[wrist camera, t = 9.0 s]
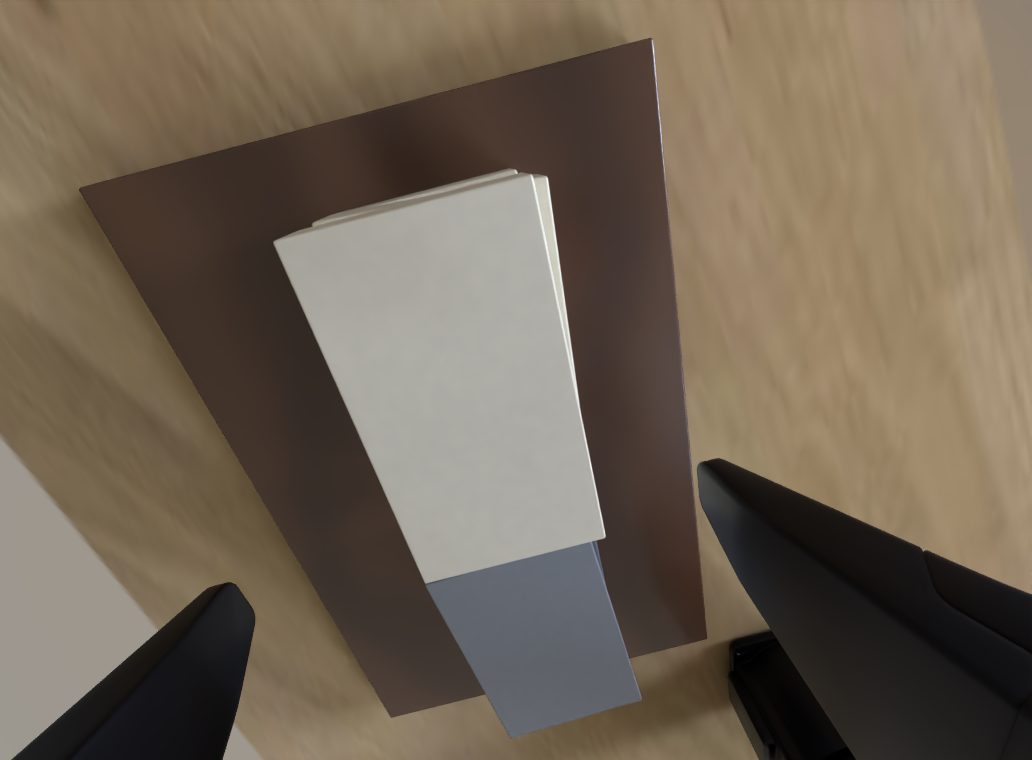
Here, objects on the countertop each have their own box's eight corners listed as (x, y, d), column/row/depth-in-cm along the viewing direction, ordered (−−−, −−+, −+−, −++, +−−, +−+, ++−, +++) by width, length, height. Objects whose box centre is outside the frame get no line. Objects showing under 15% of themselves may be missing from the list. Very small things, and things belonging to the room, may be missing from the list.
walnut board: (637, 47, 16) (653, 36, 14) (695, 615, 28) (707, 639, 26) (109, 185, 16) (76, 187, 15) (394, 691, 28) (390, 718, 26)
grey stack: (586, 472, 21) (608, 530, 18) (620, 636, 25) (643, 706, 22) (427, 512, 21) (420, 577, 18) (491, 668, 26) (494, 743, 22)
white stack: (528, 161, 15) (545, 161, 12) (585, 443, 20) (608, 498, 17) (325, 213, 15) (288, 228, 12) (430, 483, 20) (423, 545, 17)
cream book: (523, 171, 12) (532, 173, 11) (592, 502, 17) (606, 538, 15) (296, 230, 12) (271, 241, 11) (428, 543, 17) (424, 585, 15)
